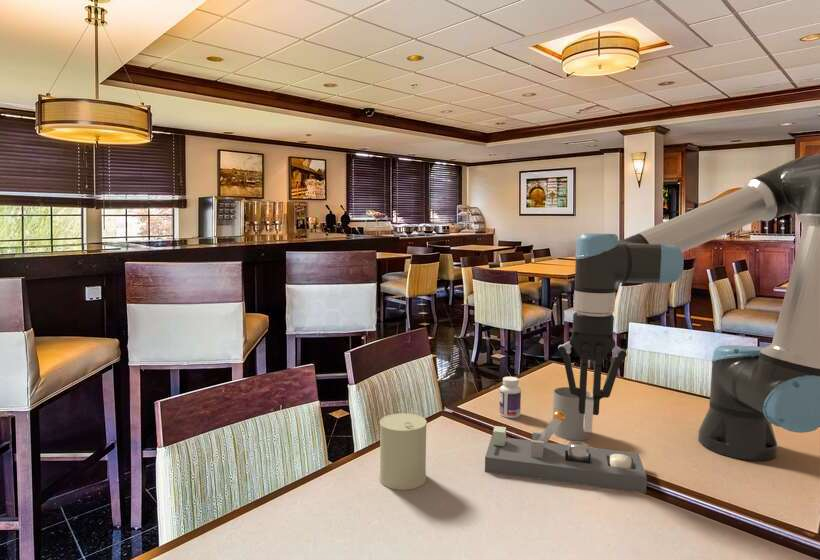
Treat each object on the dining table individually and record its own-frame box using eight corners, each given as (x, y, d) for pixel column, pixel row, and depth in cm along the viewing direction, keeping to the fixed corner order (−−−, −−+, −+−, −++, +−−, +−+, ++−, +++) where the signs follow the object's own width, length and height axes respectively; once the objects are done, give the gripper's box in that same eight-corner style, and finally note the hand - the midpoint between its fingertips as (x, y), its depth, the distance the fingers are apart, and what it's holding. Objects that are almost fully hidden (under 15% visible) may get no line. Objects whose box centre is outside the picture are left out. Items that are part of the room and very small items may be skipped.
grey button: (587, 458, 108) (588, 442, 108) (588, 467, 104) (589, 450, 104) (567, 456, 109) (568, 440, 109) (567, 464, 105) (568, 447, 105)
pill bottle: (523, 413, 139) (524, 377, 138) (515, 420, 134) (516, 383, 133) (503, 409, 142) (505, 374, 141) (495, 415, 137) (496, 379, 136)
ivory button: (629, 471, 106) (630, 455, 106) (632, 481, 102) (633, 463, 102) (608, 469, 107) (609, 452, 107) (610, 478, 103) (610, 461, 103)
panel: (637, 467, 109) (639, 438, 108) (646, 493, 98) (647, 461, 98) (491, 449, 117) (492, 422, 116) (484, 471, 106) (485, 441, 106)
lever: (542, 447, 110) (567, 413, 108) (542, 453, 107) (567, 418, 105) (532, 441, 110) (557, 406, 108) (532, 446, 107) (557, 411, 105)
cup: (590, 441, 121) (592, 399, 120) (553, 438, 123) (555, 397, 122) (586, 428, 130) (587, 388, 128) (551, 425, 131) (552, 386, 130)
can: (391, 494, 97) (392, 431, 96) (371, 473, 105) (371, 415, 104) (435, 483, 101) (436, 423, 100) (412, 464, 109) (413, 407, 108)
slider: (505, 440, 114) (506, 427, 113) (504, 446, 111) (504, 432, 111) (494, 439, 114) (494, 425, 114) (492, 444, 112) (493, 431, 111)
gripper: (627, 311, 105) (620, 426, 107) (558, 307, 108) (553, 419, 111) (632, 318, 98) (624, 440, 100) (558, 313, 101) (553, 432, 104)
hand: (587, 429), depth 105 cm, fingers closed
